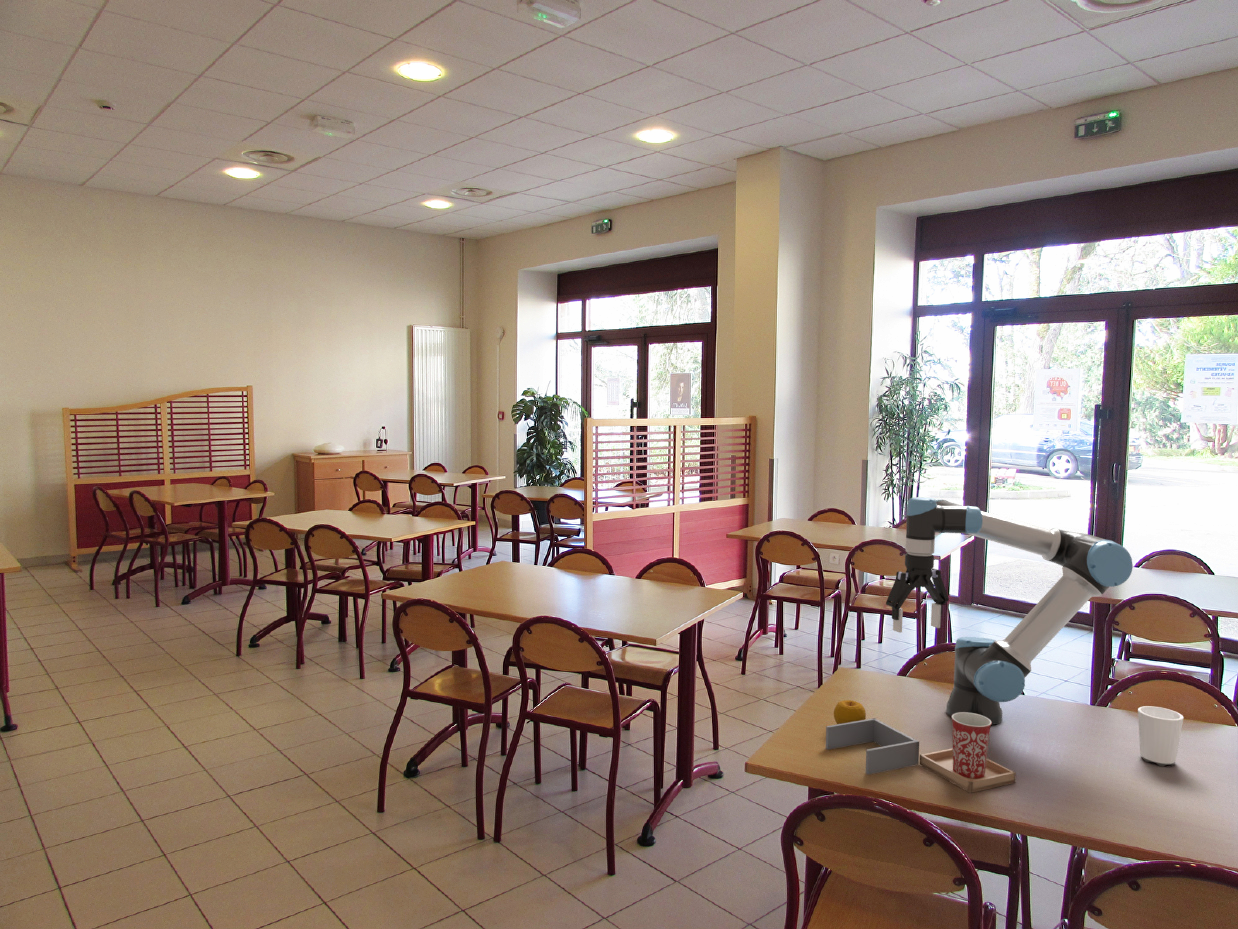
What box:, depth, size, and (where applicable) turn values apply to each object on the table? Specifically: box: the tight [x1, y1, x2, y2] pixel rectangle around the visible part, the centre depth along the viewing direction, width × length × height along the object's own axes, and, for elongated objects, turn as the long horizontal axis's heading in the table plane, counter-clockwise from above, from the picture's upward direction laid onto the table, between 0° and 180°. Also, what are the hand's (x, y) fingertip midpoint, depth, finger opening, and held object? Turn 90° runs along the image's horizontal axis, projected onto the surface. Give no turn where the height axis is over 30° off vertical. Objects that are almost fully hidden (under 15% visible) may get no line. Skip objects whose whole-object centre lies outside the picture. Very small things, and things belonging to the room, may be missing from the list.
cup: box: [1137, 705, 1184, 767], centre depth 209 cm, size 10×10×13 cm
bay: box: [825, 717, 920, 776], centre depth 210 cm, size 16×17×6 cm
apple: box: [833, 699, 867, 725], centre depth 225 cm, size 8×8×9 cm
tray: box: [918, 747, 1017, 794], centre depth 201 cm, size 14×16×2 cm
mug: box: [951, 712, 993, 779], centre depth 201 cm, size 13×9×14 cm
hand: (916, 629), depth 226 cm, fingers open, 13 cm apart
